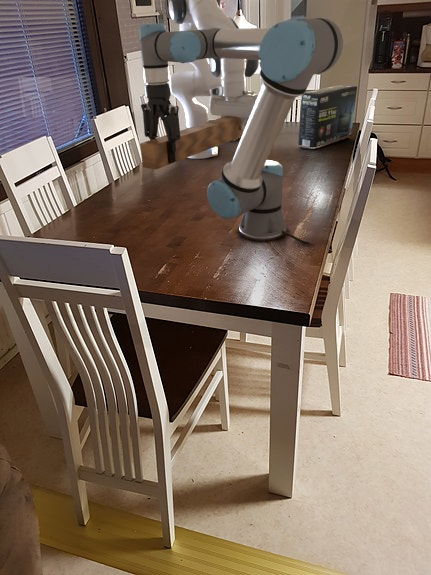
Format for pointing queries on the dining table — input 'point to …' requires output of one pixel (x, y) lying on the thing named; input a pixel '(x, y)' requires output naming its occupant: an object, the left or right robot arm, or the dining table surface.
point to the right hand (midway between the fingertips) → (164, 160)
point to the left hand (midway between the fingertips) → (233, 129)
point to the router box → (326, 115)
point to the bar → (191, 141)
